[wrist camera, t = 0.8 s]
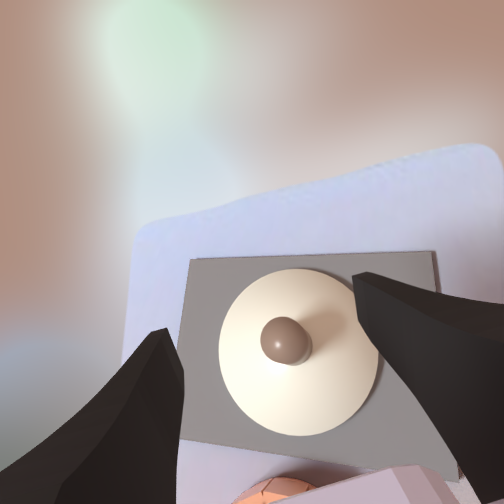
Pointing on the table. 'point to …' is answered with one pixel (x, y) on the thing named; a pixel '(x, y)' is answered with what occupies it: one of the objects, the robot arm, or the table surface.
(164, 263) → the table surface
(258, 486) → the bowl
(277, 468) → the table surface
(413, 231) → the table surface
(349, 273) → the mat
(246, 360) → the lid
